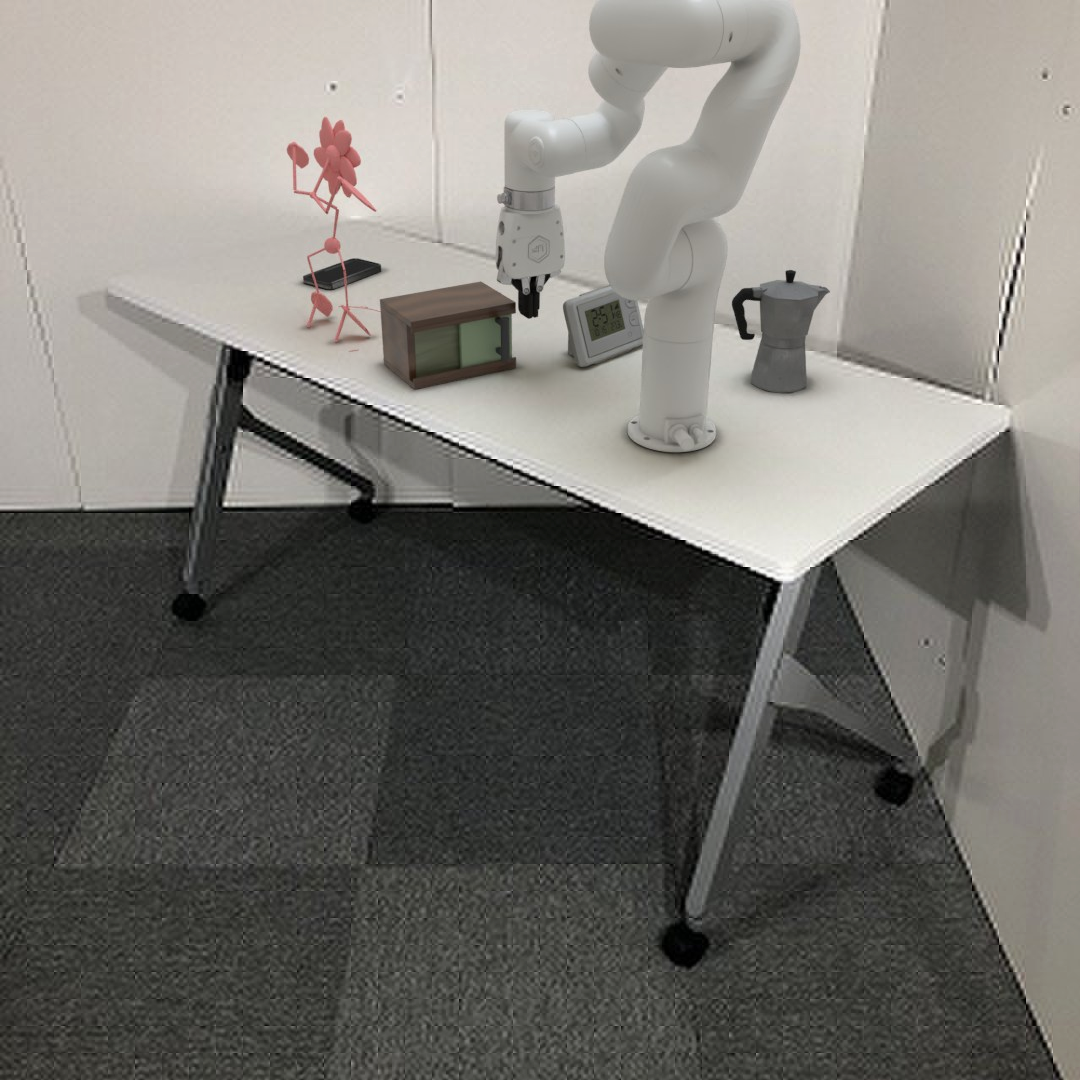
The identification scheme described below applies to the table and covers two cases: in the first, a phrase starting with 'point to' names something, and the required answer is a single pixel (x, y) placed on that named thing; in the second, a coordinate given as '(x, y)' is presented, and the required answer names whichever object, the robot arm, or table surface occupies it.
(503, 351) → the sliding door
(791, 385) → the coffeepot
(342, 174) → the figurine
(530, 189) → the robot arm
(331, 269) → the phone
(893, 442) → the table surface
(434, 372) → the cabinet
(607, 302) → the digital clock
